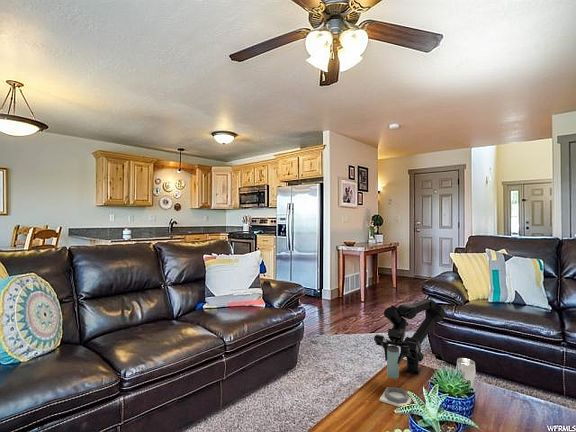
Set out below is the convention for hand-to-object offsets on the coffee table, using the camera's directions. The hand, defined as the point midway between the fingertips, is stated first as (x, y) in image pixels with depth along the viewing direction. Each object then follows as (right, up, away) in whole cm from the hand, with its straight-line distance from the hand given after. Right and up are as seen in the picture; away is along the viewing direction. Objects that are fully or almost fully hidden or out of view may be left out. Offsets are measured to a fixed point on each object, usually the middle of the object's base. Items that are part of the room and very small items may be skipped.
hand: (392, 362), depth 143 cm
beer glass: (+29, -12, -7) cm, 32 cm away
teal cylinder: (+1, -7, +1) cm, 7 cm away
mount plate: (-1, -12, -8) cm, 14 cm away
